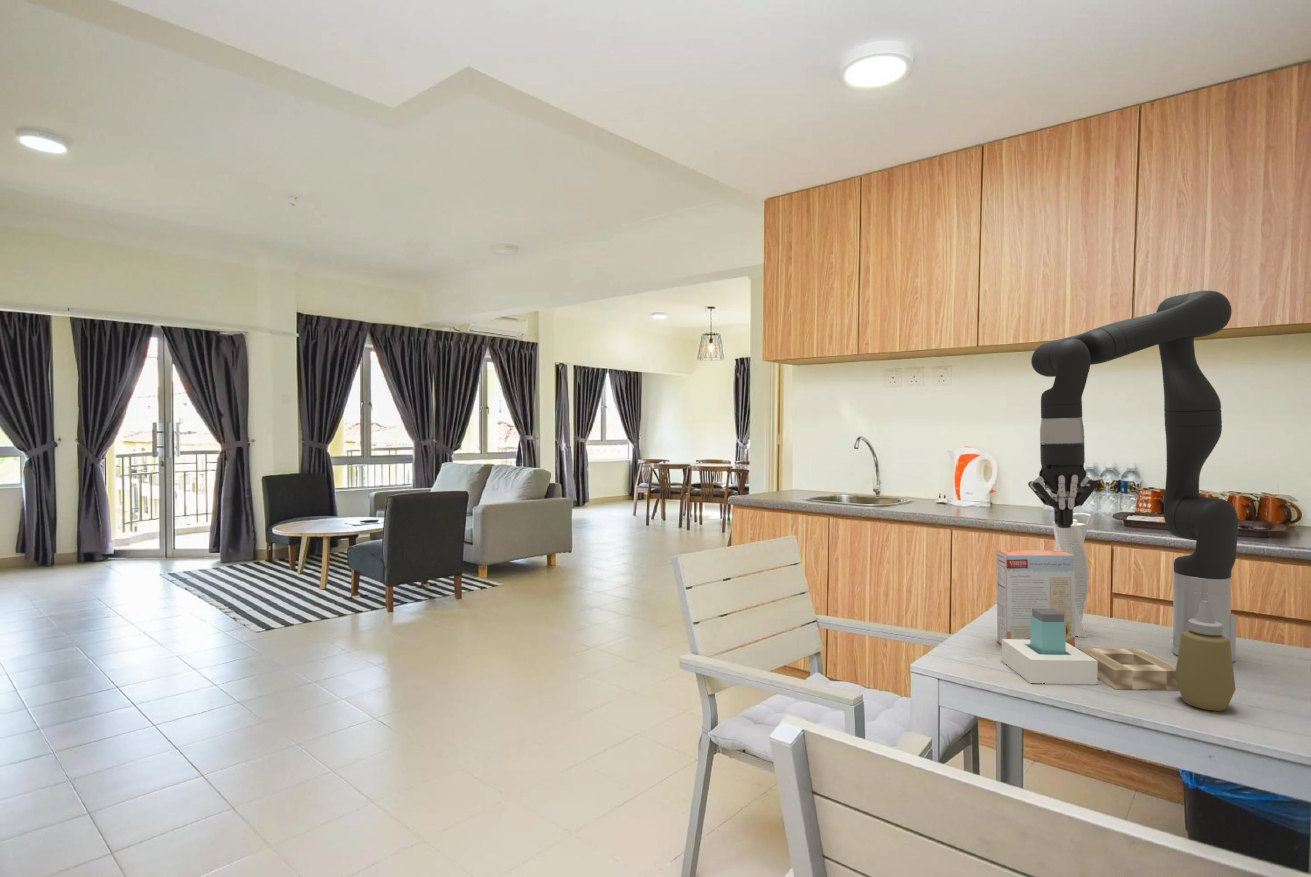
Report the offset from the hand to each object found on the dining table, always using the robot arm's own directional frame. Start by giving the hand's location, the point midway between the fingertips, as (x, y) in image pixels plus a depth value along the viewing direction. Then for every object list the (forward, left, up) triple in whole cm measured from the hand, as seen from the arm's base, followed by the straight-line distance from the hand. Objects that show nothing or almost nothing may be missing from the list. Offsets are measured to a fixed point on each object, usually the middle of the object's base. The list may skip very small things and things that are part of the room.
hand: (1063, 527), depth 133 cm
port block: (+5, +4, -28) cm, 29 cm away
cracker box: (0, -11, -28) cm, 30 cm away
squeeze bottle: (-14, +18, -28) cm, 36 cm away
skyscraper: (-13, -21, -28) cm, 38 cm away
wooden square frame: (-9, +6, -28) cm, 30 cm away
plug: (+5, +4, -28) cm, 29 cm away
